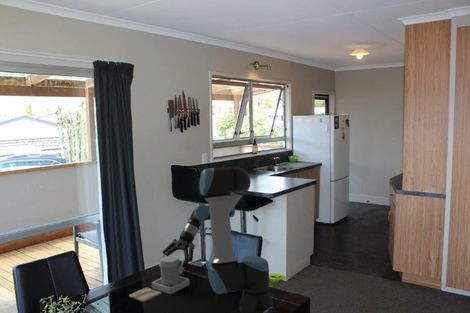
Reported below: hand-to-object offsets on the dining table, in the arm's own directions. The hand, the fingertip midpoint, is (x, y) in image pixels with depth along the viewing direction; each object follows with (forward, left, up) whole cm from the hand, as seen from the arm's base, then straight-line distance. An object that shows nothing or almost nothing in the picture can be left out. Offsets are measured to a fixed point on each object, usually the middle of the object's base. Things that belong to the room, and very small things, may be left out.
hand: (169, 269), depth 205 cm
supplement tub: (-1, 0, -9) cm, 9 cm away
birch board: (+2, +15, -9) cm, 17 cm away
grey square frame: (-1, 0, -9) cm, 9 cm away
